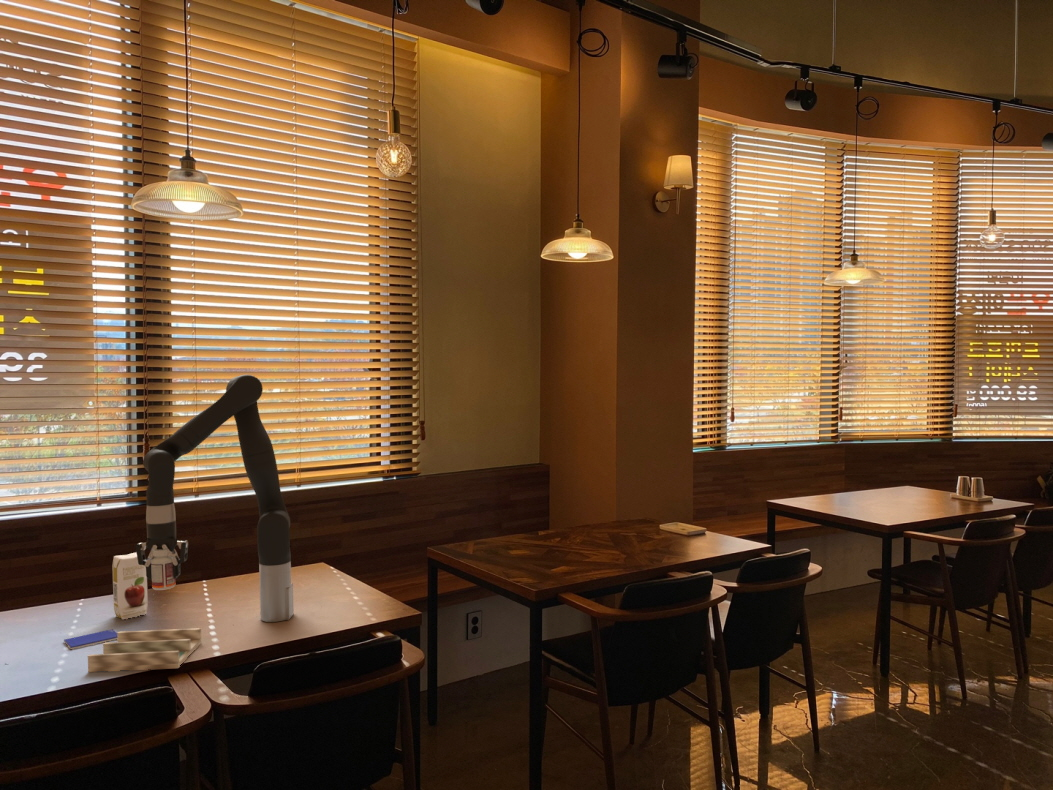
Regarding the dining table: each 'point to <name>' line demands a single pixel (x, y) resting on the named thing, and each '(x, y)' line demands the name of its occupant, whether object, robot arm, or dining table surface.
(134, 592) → the juice carton
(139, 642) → the slot rack
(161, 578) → the pill bottle
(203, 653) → the dining table surface
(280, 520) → the robot arm
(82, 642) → the hard drive
